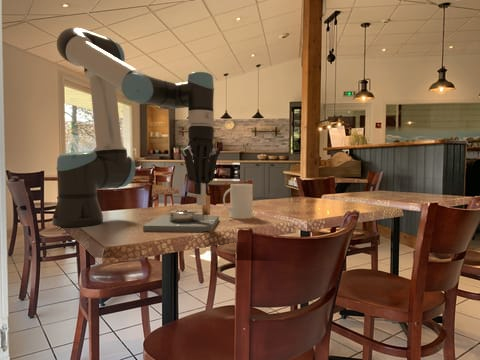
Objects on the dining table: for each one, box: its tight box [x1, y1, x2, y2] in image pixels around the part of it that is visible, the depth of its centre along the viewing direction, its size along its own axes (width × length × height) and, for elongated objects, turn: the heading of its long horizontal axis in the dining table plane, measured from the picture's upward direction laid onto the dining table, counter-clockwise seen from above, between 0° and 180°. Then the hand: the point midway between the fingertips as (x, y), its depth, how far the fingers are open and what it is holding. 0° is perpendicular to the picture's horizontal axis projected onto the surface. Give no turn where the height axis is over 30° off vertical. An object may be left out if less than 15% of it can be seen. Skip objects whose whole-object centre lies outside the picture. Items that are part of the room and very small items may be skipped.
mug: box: [222, 183, 254, 220], centre depth 133 cm, size 12×8×12 cm
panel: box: [142, 214, 220, 233], centre depth 117 cm, size 20×20×2 cm
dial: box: [169, 195, 211, 222], centre depth 115 cm, size 15×9×8 cm, turn 57°
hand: (201, 204), depth 110 cm, fingers closed
